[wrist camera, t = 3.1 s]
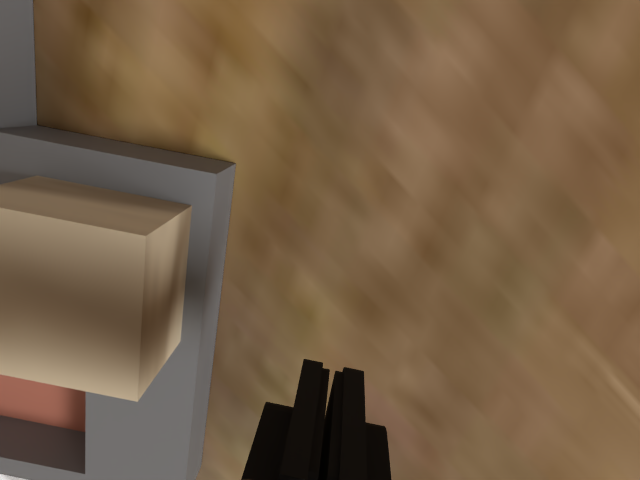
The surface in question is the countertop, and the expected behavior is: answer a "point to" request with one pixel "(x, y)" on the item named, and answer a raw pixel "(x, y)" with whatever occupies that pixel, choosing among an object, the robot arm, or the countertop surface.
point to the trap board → (198, 310)
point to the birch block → (89, 285)
